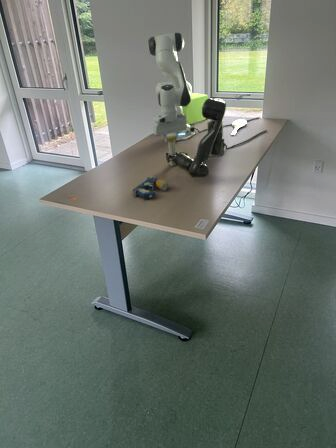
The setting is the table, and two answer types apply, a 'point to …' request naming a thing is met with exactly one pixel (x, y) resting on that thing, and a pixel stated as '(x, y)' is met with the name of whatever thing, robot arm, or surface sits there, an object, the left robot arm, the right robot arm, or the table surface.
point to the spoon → (238, 125)
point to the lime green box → (194, 108)
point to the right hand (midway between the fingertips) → (170, 153)
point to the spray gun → (149, 187)
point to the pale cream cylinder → (172, 151)
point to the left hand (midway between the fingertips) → (171, 140)
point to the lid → (171, 138)
